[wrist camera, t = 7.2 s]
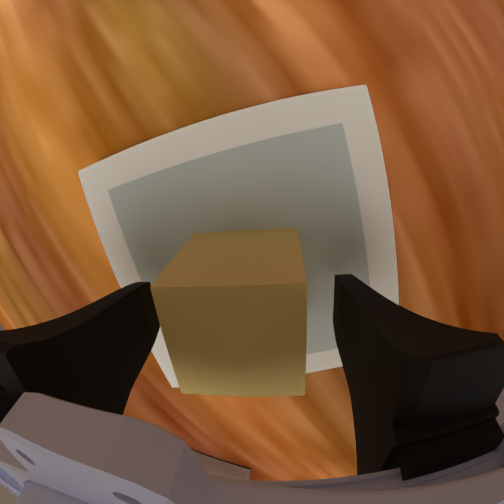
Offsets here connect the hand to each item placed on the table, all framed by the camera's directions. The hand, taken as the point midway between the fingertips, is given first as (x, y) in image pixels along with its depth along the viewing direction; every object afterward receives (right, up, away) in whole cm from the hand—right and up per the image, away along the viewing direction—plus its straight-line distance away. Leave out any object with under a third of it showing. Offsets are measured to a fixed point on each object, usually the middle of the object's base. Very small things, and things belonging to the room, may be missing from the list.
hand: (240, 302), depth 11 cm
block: (0, +1, +3) cm, 3 cm away
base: (0, +2, +5) cm, 5 cm away
